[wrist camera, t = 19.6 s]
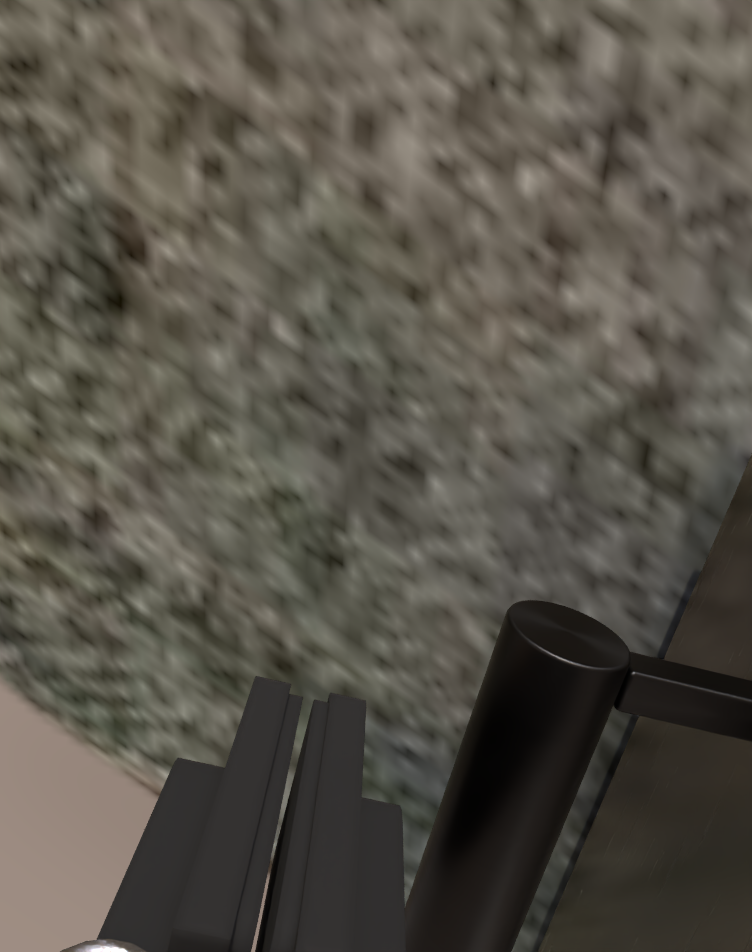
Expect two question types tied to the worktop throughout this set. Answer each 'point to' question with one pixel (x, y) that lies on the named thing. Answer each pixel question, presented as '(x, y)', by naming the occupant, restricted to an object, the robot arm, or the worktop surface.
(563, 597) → the worktop surface
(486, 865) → the drawer
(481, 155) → the worktop surface
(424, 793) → the worktop surface
